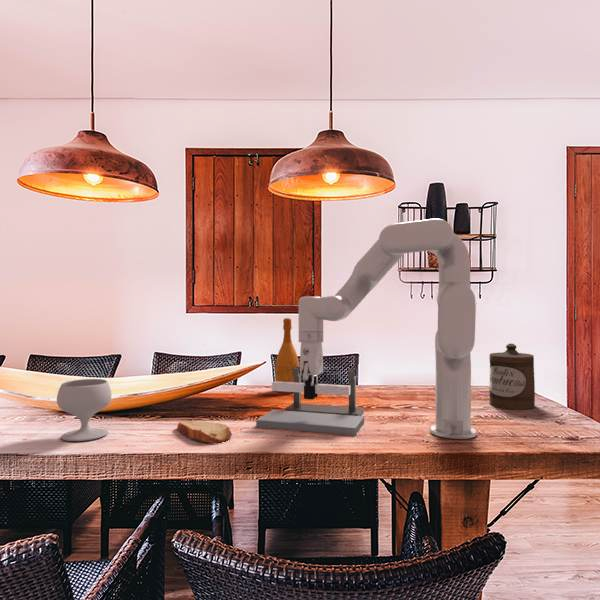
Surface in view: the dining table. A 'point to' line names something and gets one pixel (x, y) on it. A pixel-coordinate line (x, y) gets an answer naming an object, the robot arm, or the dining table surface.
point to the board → (311, 422)
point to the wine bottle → (286, 357)
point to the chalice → (84, 405)
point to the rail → (318, 387)
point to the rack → (327, 409)
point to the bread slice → (205, 431)
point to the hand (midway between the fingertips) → (310, 397)
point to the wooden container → (512, 379)
